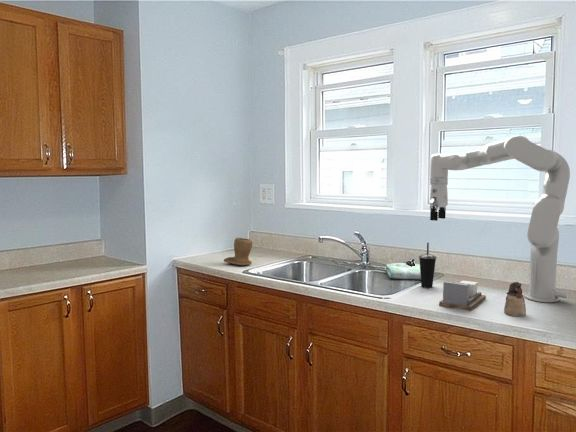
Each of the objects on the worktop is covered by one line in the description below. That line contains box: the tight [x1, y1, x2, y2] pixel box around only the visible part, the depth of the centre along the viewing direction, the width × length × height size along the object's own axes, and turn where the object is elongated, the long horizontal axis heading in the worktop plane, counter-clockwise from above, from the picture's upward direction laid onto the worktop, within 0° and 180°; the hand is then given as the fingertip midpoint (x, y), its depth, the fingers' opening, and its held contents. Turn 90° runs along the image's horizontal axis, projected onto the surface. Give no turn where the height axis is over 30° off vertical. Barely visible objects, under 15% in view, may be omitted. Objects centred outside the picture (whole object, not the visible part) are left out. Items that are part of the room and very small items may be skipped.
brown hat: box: [223, 237, 253, 266], centre depth 269 cm, size 15×12×15 cm
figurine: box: [503, 281, 527, 318], centre depth 176 cm, size 7×7×12 cm
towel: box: [385, 262, 421, 281], centre depth 240 cm, size 18×21×5 cm
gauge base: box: [438, 291, 487, 312], centre depth 192 cm, size 12×20×3 cm, turn 143°
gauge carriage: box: [459, 280, 478, 297], centre depth 195 cm, size 9×10×5 cm
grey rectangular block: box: [442, 280, 470, 306], centre depth 185 cm, size 9×3×8 cm, turn 53°
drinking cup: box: [418, 242, 437, 289], centre depth 217 cm, size 8×8×20 cm
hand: (437, 219), depth 219 cm, fingers open, 9 cm apart
